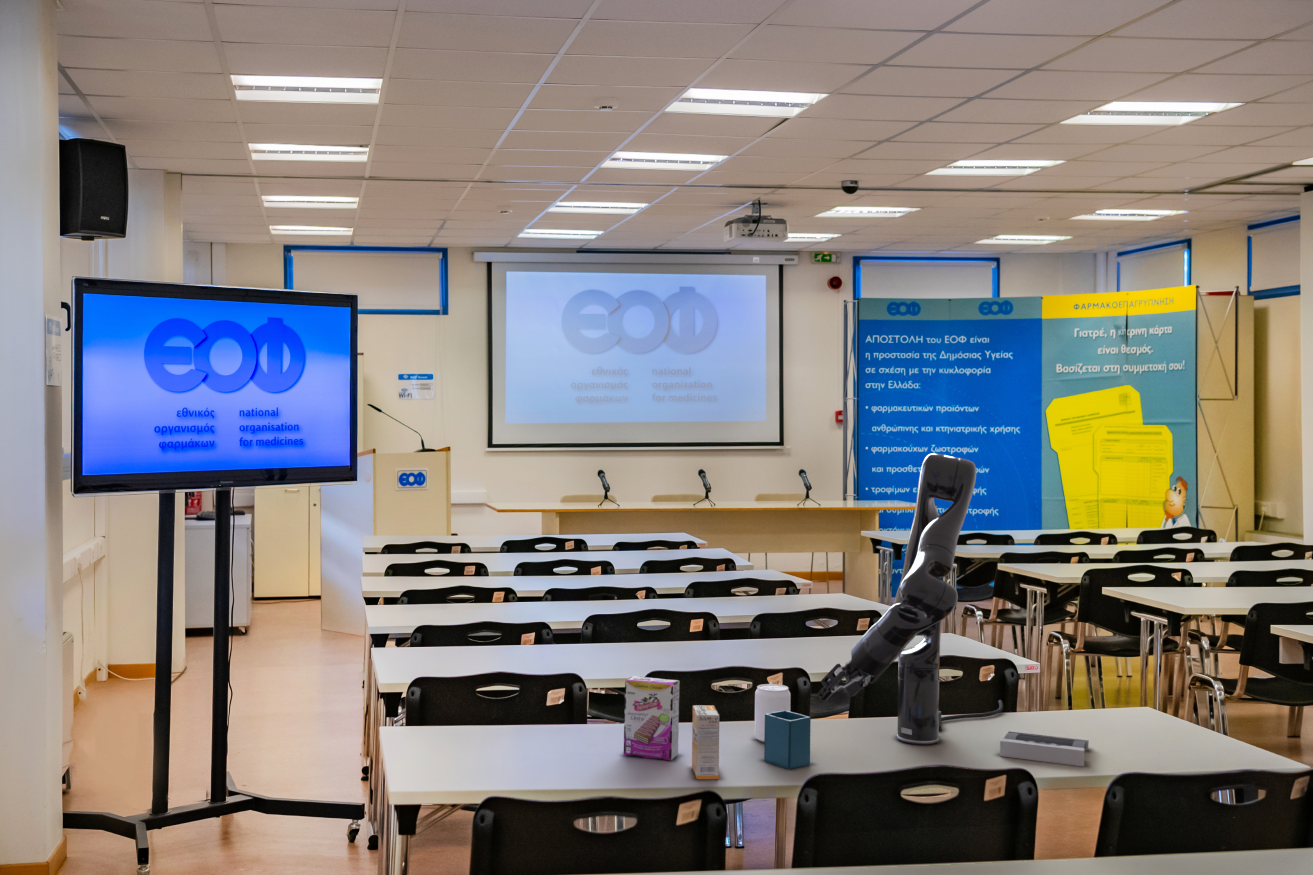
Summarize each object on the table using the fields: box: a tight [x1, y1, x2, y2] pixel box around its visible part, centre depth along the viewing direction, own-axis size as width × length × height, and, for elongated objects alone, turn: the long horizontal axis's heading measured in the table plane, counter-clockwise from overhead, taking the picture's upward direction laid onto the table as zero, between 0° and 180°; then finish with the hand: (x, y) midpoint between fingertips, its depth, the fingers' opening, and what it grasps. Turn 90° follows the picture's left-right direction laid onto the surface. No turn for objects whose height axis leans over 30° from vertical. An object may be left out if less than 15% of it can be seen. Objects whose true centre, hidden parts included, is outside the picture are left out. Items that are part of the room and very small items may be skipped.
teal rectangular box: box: [763, 710, 812, 770], centre depth 233 cm, size 10×6×8 cm
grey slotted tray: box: [999, 730, 1090, 767], centre depth 244 cm, size 17×5×16 cm
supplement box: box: [691, 704, 720, 780], centre depth 224 cm, size 8×5×13 cm, turn 5°
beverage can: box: [753, 683, 792, 743], centre depth 251 cm, size 8×8×12 cm
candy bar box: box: [623, 675, 681, 761], centre depth 237 cm, size 11×5×16 cm, turn 71°
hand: (835, 695), depth 223 cm, fingers open, 8 cm apart
